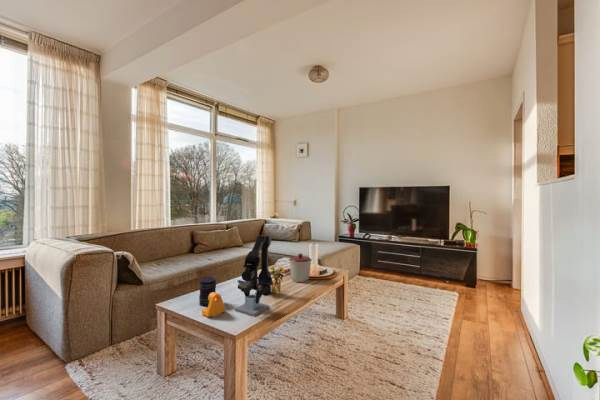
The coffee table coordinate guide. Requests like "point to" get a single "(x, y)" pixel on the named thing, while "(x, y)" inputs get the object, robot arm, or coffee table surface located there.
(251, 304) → the blue-grey hollow cube
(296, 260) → the canister
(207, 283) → the storage jar
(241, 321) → the coffee table surface
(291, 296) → the coffee table surface
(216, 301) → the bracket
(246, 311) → the pin plate
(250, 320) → the coffee table surface
